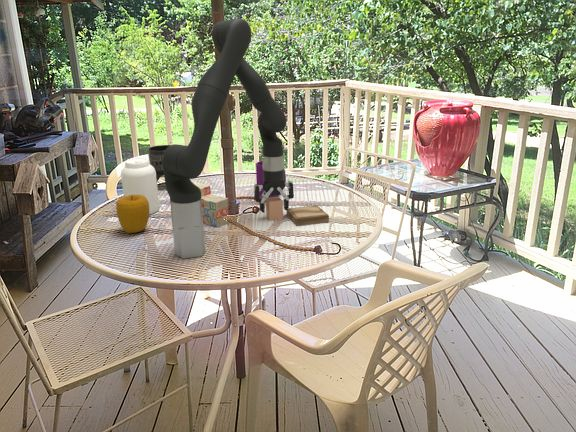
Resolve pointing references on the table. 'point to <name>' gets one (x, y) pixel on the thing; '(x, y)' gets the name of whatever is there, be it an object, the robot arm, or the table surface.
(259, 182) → the mug
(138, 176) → the white jar
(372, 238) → the table surface
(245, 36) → the robot arm
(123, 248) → the table surface
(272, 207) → the block
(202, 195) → the stack of blocks
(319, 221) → the base
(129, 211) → the apple
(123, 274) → the table surface
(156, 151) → the planter
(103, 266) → the table surface
